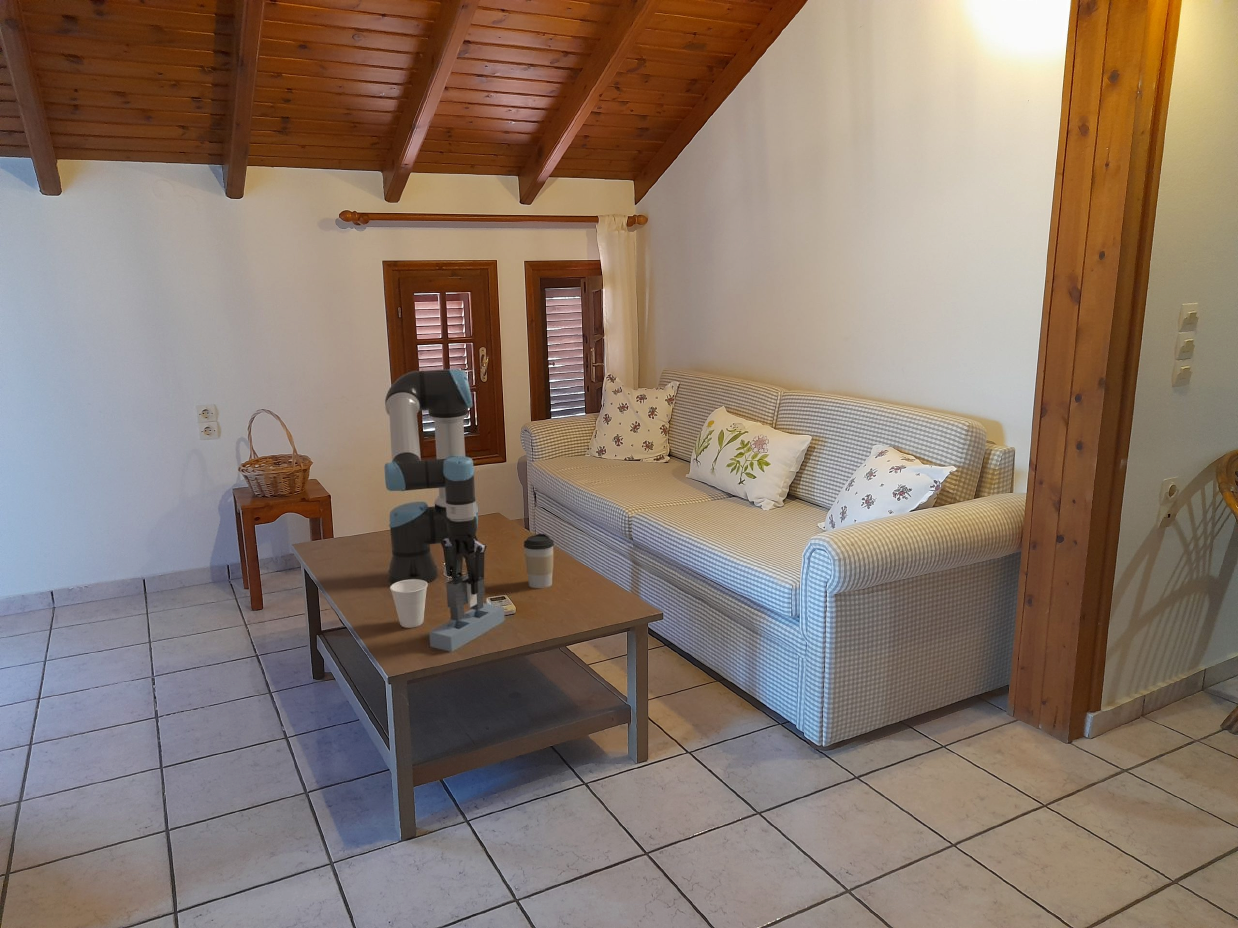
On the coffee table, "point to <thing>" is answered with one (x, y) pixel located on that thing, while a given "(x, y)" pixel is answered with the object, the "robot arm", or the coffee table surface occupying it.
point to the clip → (462, 596)
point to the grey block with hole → (466, 627)
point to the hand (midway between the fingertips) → (466, 603)
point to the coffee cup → (539, 560)
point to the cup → (410, 601)
